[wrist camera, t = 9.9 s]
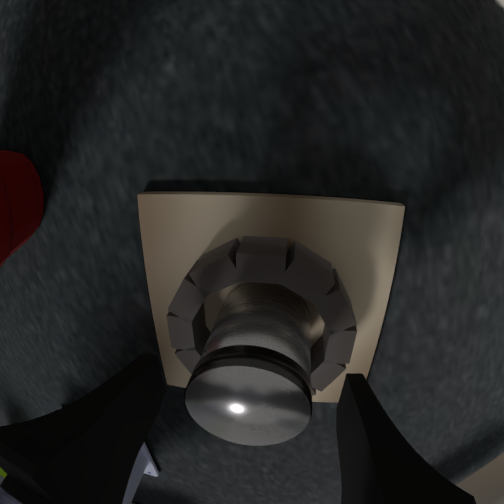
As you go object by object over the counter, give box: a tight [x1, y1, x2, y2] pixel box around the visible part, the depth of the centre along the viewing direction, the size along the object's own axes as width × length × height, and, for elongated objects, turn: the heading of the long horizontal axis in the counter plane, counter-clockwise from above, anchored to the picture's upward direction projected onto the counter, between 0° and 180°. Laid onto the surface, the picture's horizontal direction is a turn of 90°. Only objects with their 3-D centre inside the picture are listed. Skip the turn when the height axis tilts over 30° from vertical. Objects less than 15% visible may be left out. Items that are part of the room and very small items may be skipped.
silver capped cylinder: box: [184, 282, 312, 446], centre depth 13 cm, size 4×4×6 cm
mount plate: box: [137, 192, 405, 402], centre depth 15 cm, size 12×12×3 cm
